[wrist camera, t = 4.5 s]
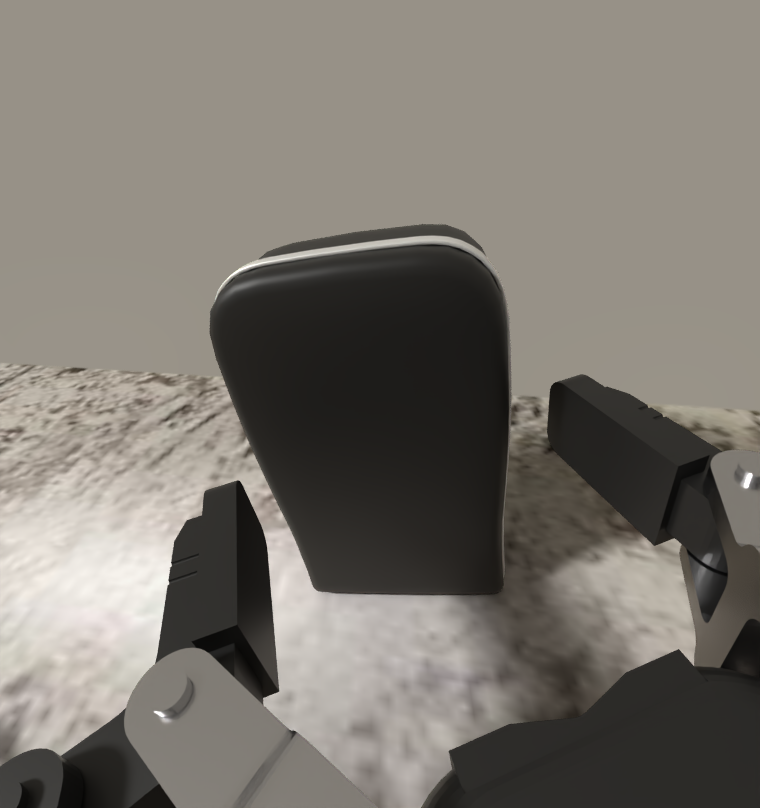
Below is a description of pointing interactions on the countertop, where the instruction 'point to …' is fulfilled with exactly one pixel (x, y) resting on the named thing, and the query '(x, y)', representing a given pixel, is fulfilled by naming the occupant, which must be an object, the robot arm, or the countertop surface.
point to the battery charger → (377, 404)
